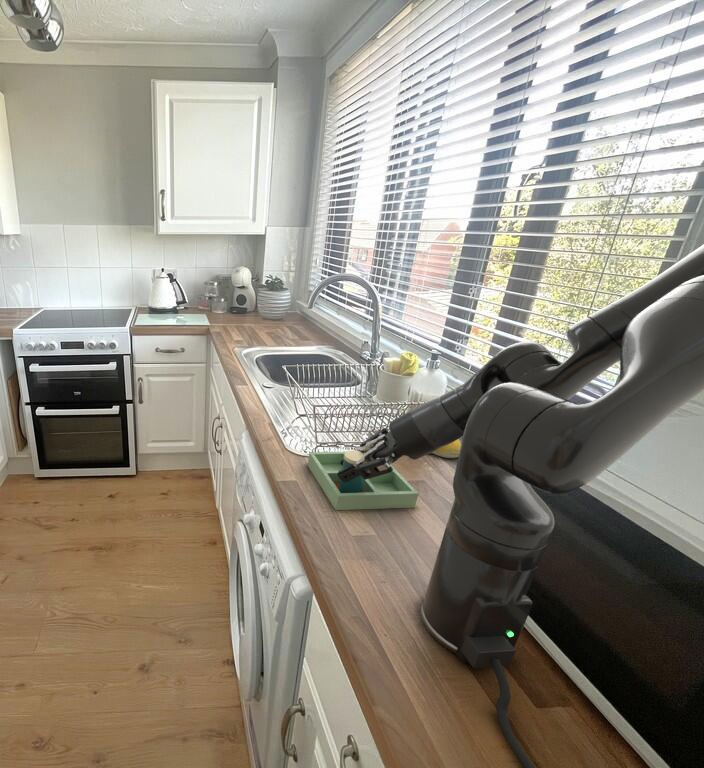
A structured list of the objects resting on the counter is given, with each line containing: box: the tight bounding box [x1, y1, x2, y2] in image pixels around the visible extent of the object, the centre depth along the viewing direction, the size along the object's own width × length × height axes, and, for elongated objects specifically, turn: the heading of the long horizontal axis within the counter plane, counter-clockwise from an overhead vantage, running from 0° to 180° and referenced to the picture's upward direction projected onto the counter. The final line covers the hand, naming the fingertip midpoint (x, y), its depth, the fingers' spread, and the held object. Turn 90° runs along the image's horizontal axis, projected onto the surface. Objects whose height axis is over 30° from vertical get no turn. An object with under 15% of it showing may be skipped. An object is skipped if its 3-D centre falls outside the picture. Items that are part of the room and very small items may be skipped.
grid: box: [307, 451, 419, 511], centre depth 83 cm, size 15×15×3 cm
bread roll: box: [430, 438, 462, 459], centre depth 97 cm, size 8×9×4 cm
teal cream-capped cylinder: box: [339, 449, 367, 493], centre depth 78 cm, size 4×4×8 cm
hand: (342, 471), depth 79 cm, fingers closed on teal cream-capped cylinder, 4 cm apart
